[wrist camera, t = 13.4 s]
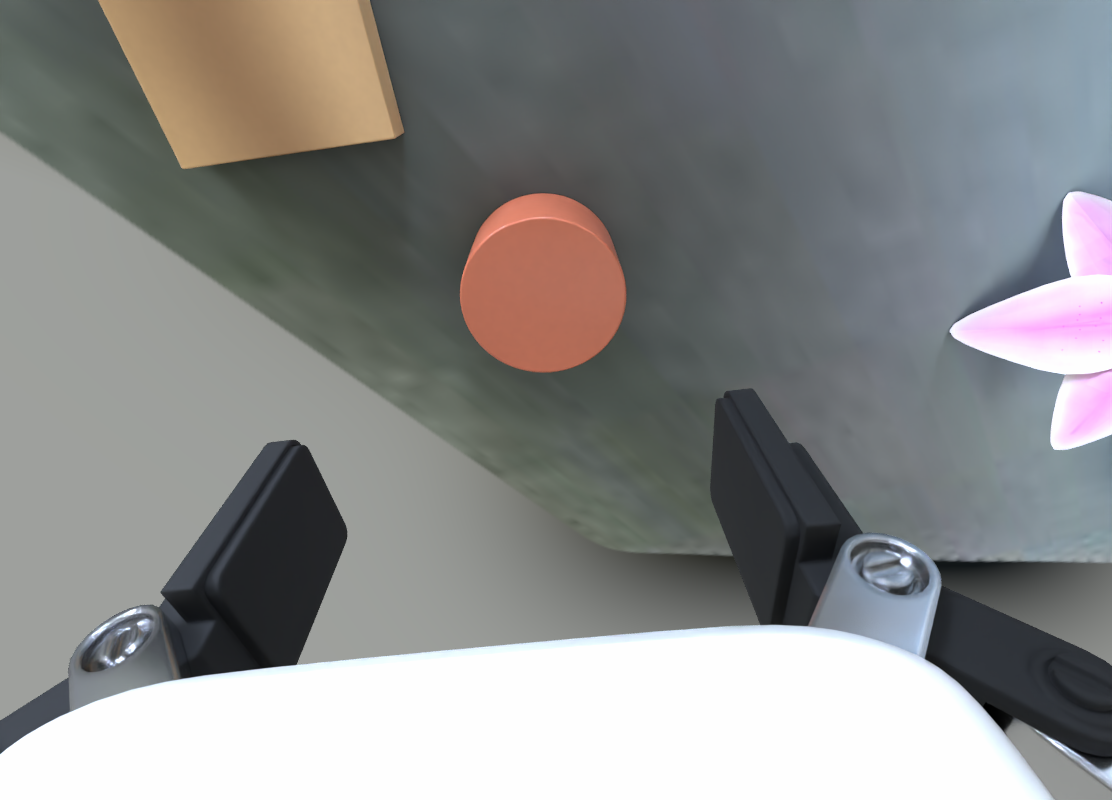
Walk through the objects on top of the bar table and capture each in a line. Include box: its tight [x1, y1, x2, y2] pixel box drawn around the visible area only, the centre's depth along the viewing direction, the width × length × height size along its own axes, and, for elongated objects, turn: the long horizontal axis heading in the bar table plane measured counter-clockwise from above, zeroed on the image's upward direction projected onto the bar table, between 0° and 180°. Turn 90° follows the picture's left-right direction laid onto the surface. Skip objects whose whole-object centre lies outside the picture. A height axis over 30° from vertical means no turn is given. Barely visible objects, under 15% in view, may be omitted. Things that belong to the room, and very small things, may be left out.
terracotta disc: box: [460, 193, 626, 372], centre depth 21 cm, size 6×6×4 cm
